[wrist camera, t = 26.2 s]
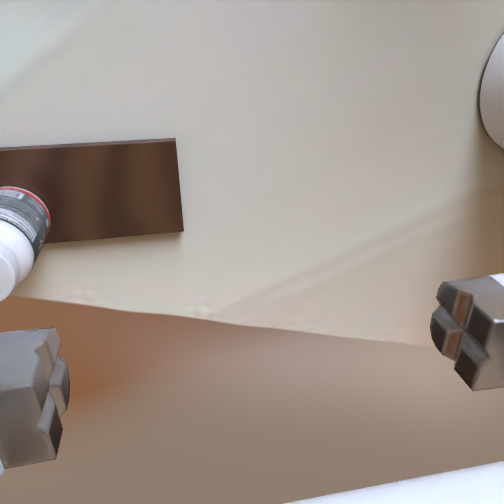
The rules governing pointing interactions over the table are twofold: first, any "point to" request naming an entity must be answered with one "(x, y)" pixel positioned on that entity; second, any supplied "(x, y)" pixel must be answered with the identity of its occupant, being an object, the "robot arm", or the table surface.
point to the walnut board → (100, 186)
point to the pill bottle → (20, 235)
